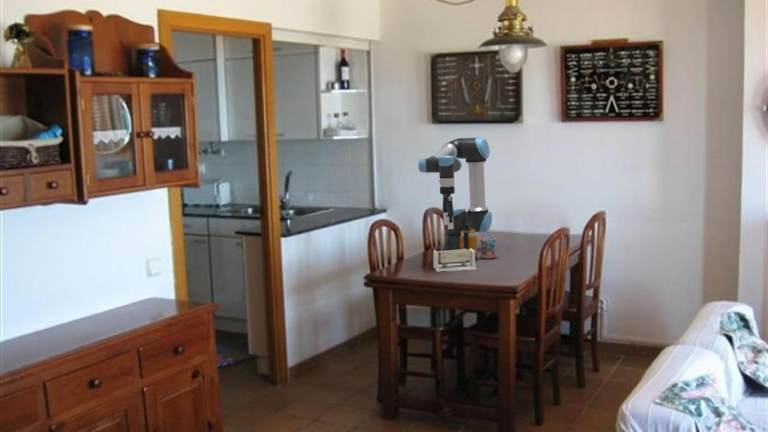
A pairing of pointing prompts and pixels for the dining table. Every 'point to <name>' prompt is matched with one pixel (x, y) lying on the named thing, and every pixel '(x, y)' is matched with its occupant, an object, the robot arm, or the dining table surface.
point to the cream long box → (454, 255)
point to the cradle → (454, 266)
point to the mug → (488, 247)
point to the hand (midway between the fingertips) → (448, 227)
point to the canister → (468, 239)
